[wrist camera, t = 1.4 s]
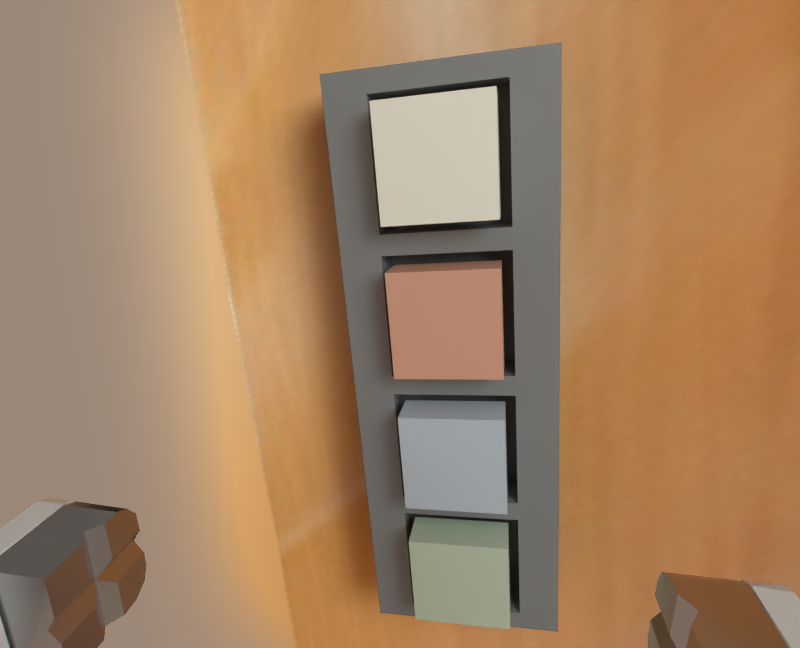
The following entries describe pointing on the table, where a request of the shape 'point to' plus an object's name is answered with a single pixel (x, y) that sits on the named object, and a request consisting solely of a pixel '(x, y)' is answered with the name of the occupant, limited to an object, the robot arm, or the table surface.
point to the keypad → (522, 308)
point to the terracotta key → (446, 320)
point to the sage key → (461, 571)
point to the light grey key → (454, 455)
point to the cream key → (437, 157)
